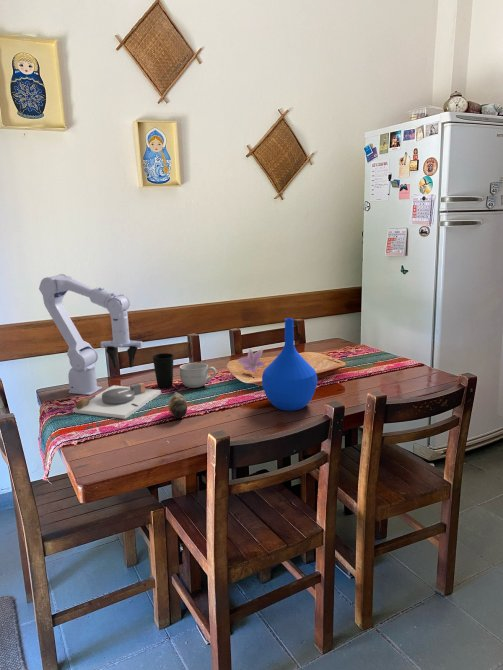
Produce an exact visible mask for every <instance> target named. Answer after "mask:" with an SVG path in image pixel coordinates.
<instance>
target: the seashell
mask: <svg viewBox="0 0 503 670" xmlns="http://www.w3.org/2000/svg"><path fill="white" fill-rule="evenodd" d="M167 408H168V411H169V413H170V414H171V416H173V417H174V418H176V419H182V418H184V417H185V416H186V414H187V412H188V403H187V401H186V399H185V397H184V396H183V395H182V394H181V393H180V392H177V391H176V392H174V393H173V394H172V395H171V396H170V398H169V400H168V404H167Z"/></svg>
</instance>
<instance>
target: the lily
mask: <svg viewBox="0 0 503 670" xmlns="http://www.w3.org/2000/svg"><path fill="white" fill-rule="evenodd" d="M263 352H264V349H260V350H258V351H256V352H253V351H252V349H249V350H248V352H247V356H244V357H243V356H242V357H240V358H238V359H237V362H238V364H240V365H241V366H243V369H245V370H248V372H249V371H251V372H254V373H257V371H258V370H257V368H258V369H259V368H262V367H265V366H266V364H265V363H264V361H262V360H260V359H261V357H262V354H263ZM243 369H242V370H243Z"/></svg>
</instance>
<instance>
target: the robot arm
mask: <svg viewBox="0 0 503 670" xmlns="http://www.w3.org/2000/svg"><path fill="white" fill-rule="evenodd" d="M38 290H39V291H40V293H41V295H42V299H43V300H42V301H43V304H44V307H45V309H46V310H47V312H48V313H49V316H50V317H51V318H52V320H53V322H54V324H55V326H56V328H57V329H58V331H59V332H60V335H61V336H62V338H63V339H64V341H65V343H66V344H67V346H68V350H67V352H66V355H67V357H68V359H69V365H70V366H71V367H70V369H69V371H68V374H67V375H68V376H67V377H68V386H69V391H68V393H69V394H77V395H86V396H87V395H88V396H91V395H92V394H94V393H96V392H99V391H100V390H101V389H103V386H99V385H98V382H97V381H98V380H97V372H96V362H98V359H99V354H98V352H97V350H96V349H95V348H94V347H92V345H91V344H90V343H89V342H87V341H84V339H83V337H82V336H81V334H80V332H79V331H78V328H77V327H76V326H75V324H74V322H73V321H72V318H71V317H70V316H69V313H68V311H67V309H66V308H65V307H64V304H63V299H64V297H65V296H66V294H67V292H72V293H75V294H78V295H81V296H84V297H86V298H89V300H90V302H91V303H92V304H95V305H97V306H100V307H101V308H104V309H106V310H107V311H108V313H109V315H110V321H111V330H112V331H111V332H112V333H111V335H112V340H108V341H101V342H100V348H101V349H104V348H106V350H105V352H106V353H107V355H108V356H109V357H110V359H111V363H112V365H113V367H114V368H117V367H118V366H119V362H118V348H127V351H126V352H127V355H128V364H129V368H133V367H134V361H135V357H136V354H137V351H138V349H142V348H143V345H144V344H143V341H142V340H132V339H130V330H129V329H130V327H129V314H128V310H129V307H130V305H131V303H130V300H129V298H128V296H125V295H124V294H118V295H117V293H115V292H110V291H108V290H105V287H102V286H100V287H99V286H98V287H96V288H93V287H90V286H88V285H86V284H84V283H82V282H80V281H78V280H76V279H73V277H72V276H69V275H66V274H64V273H60V274H58V275H54V276H46V277H43V278H42V279H41V280H40V284H39V288H38Z"/></svg>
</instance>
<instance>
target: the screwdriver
mask: <svg viewBox="0 0 503 670" xmlns="http://www.w3.org/2000/svg"><path fill="white" fill-rule="evenodd" d="M95 396H96V394H95V395H92V396H91V397H89V398H88V397H83V398H82V399H80V400H79V401H77V402H76V403H75V404H74V405H75V406H74V407H76V408H78V409H81V408H82V407H84V406H86V405H87V404H89V402H90V401H89V400H91V399H93V398H94V397H95Z"/></svg>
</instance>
